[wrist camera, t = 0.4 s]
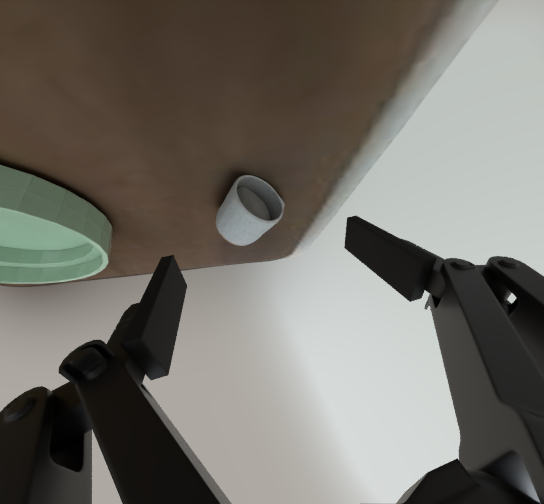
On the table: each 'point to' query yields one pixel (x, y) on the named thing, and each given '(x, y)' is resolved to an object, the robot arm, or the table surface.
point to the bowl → (48, 232)
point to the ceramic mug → (248, 211)
